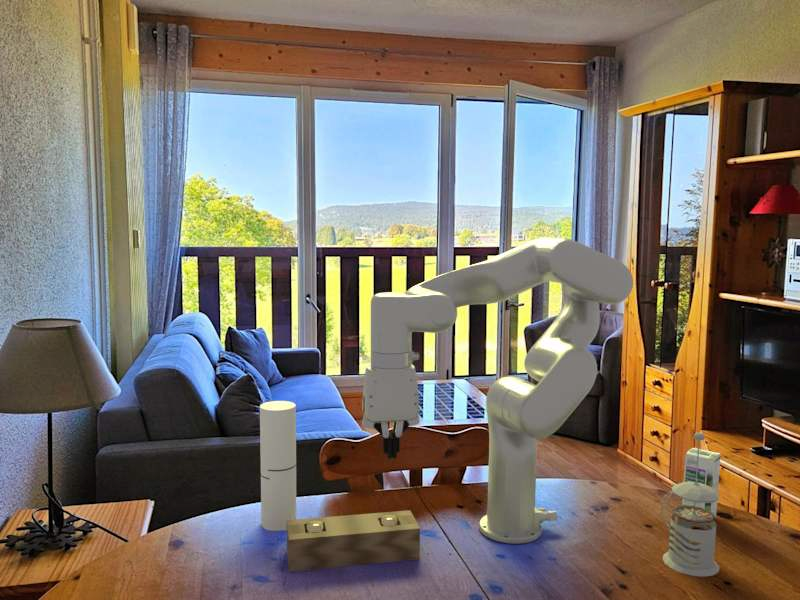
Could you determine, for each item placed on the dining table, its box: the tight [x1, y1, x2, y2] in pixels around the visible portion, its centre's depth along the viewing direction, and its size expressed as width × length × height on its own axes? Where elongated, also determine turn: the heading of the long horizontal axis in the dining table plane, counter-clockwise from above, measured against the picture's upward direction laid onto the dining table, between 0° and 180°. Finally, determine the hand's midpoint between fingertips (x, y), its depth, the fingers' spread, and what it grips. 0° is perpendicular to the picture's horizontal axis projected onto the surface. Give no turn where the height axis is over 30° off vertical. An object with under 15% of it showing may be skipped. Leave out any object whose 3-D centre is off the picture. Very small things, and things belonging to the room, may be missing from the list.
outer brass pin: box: [307, 521, 323, 533], centre depth 127 cm, size 3×3×6 cm
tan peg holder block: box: [286, 509, 421, 573], centre depth 129 cm, size 24×8×6 cm, turn 102°
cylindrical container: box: [259, 400, 297, 532], centre depth 140 cm, size 7×7×25 cm
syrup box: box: [681, 447, 722, 526], centre depth 146 cm, size 6×6×14 cm
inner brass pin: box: [381, 515, 397, 526], centre depth 130 cm, size 3×3×6 cm
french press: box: [660, 431, 720, 577], centre depth 127 cm, size 10×12×25 cm
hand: (390, 455), depth 128 cm, fingers closed
